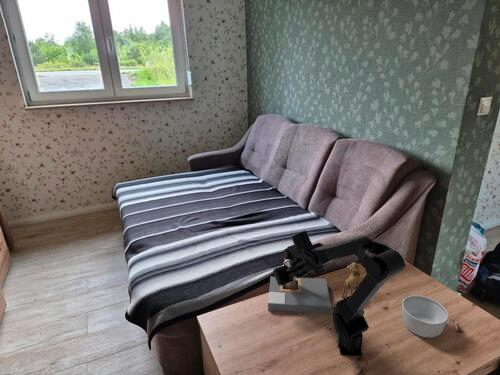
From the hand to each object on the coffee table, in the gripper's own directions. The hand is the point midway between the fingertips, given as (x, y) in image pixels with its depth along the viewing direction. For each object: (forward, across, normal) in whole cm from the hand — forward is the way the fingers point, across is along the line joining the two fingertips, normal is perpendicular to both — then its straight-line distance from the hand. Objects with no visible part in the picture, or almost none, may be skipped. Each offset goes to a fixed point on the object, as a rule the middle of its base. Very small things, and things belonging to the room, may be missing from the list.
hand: (288, 275), depth 119 cm
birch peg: (+2, 0, +4) cm, 5 cm away
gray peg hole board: (+1, -1, +9) cm, 9 cm away
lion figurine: (-4, -21, +14) cm, 25 cm away
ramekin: (-22, -27, +32) cm, 47 cm away
